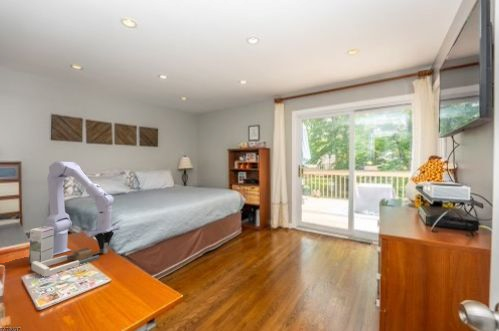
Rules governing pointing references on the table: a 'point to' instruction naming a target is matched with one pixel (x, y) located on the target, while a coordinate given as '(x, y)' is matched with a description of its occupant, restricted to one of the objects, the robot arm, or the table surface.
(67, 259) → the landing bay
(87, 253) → the lopsided dumbbell
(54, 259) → the frame
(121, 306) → the table surface
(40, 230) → the syrup box
